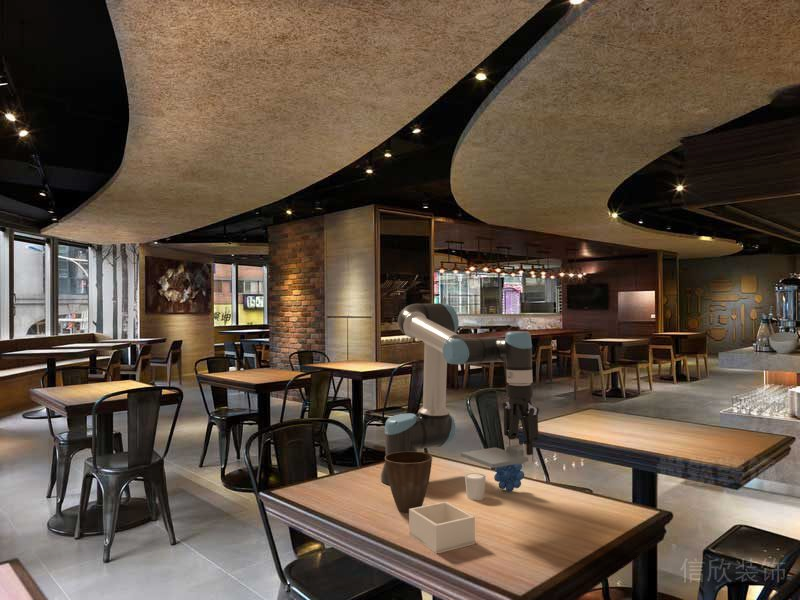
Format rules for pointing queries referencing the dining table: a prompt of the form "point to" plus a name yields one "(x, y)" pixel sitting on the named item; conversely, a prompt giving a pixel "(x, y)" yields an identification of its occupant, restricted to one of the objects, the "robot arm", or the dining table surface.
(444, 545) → the tub
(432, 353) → the robot arm
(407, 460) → the plant pot
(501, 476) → the grapes
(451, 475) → the dining table surface
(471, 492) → the beige cup
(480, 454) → the lid
